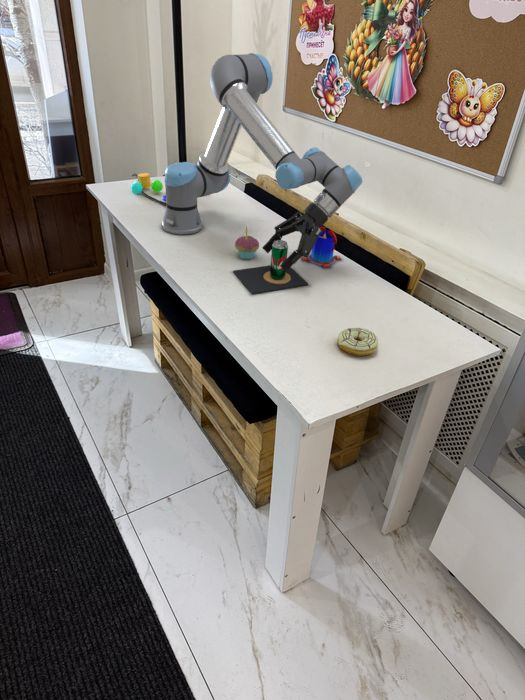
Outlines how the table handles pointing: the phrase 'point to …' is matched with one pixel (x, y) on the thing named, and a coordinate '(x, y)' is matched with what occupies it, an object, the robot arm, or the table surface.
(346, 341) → the decorated donut
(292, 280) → the mat
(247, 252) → the cupcake
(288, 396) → the table surface
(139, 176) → the shape set
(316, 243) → the fantasy tower
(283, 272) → the soda can
